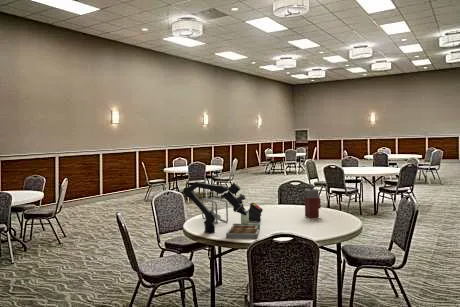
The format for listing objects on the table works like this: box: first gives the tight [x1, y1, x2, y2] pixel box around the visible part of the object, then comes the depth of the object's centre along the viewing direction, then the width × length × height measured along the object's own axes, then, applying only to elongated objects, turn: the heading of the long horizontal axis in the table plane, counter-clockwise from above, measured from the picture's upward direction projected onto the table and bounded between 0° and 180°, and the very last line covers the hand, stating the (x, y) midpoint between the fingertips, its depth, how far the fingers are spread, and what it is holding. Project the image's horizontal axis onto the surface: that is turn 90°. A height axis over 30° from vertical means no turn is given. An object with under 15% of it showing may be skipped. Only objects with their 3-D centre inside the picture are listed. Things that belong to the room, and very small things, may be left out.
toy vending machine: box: [304, 183, 322, 219], centre depth 337 cm, size 9×11×28 cm
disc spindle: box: [240, 209, 250, 224], centre depth 286 cm, size 6×6×9 cm
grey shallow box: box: [225, 228, 260, 240], centre depth 277 cm, size 21×14×3 cm, turn 80°
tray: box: [230, 222, 261, 234], centre depth 288 cm, size 20×16×4 cm
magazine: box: [247, 202, 264, 223], centre depth 325 cm, size 4×13×15 cm, turn 47°
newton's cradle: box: [201, 196, 229, 225], centre depth 333 cm, size 30×10×18 cm, turn 26°
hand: (246, 214), depth 286 cm, fingers closed on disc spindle, 6 cm apart
